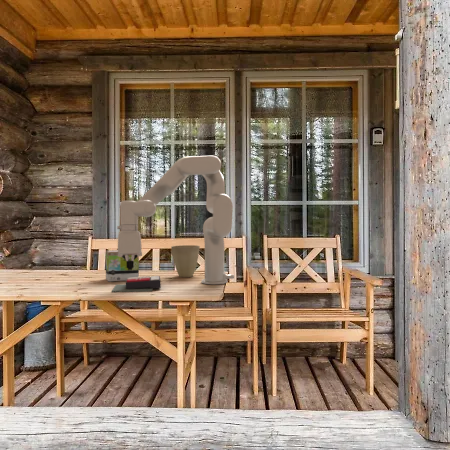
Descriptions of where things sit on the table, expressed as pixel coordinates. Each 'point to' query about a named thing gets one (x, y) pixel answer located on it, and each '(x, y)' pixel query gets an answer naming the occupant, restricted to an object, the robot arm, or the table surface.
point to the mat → (123, 289)
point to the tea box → (119, 267)
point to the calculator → (143, 282)
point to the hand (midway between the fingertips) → (130, 269)
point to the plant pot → (185, 259)
